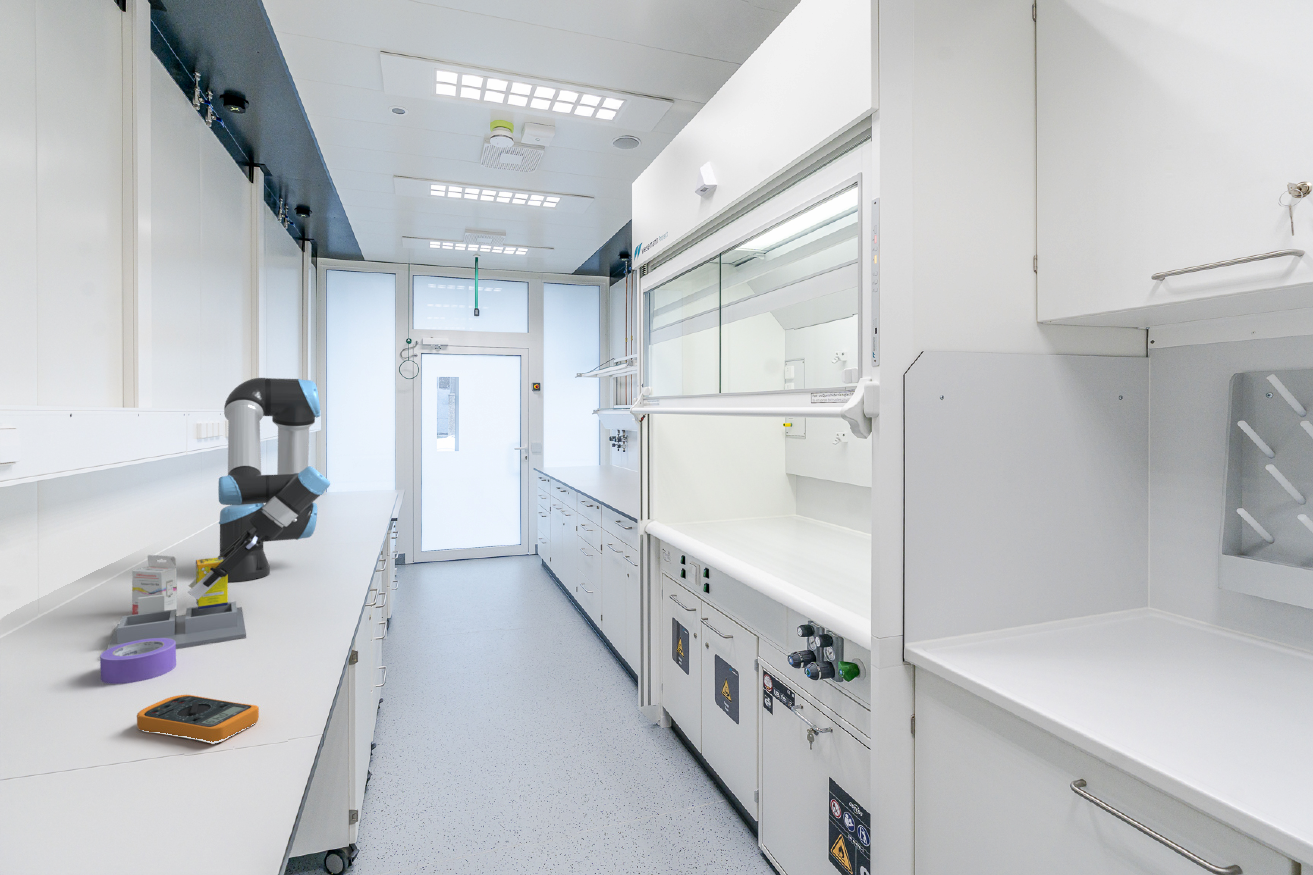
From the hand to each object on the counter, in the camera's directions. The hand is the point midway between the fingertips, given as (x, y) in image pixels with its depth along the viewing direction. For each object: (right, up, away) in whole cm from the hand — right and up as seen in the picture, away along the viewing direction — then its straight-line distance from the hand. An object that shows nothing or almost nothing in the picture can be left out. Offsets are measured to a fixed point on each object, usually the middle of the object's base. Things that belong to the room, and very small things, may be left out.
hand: (193, 592), depth 150 cm
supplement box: (+3, -4, +2) cm, 5 cm away
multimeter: (+33, -12, -44) cm, 57 cm away
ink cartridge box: (-19, -9, +13) cm, 25 cm away
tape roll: (+6, -11, -23) cm, 26 cm away
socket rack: (-2, -9, -1) cm, 10 cm away
